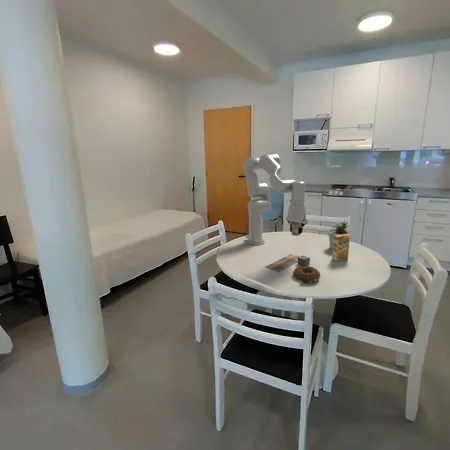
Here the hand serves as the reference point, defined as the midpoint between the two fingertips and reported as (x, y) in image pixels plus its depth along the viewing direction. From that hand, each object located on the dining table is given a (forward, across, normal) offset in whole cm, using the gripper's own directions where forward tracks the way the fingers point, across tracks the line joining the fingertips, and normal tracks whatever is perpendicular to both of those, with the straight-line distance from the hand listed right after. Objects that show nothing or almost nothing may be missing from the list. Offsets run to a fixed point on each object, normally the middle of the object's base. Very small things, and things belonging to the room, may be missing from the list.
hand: (296, 232), depth 176 cm
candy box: (+18, +20, +19) cm, 33 cm away
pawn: (+1, 0, 0) cm, 1 cm away
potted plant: (+18, +11, +36) cm, 41 cm away
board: (+17, 0, -10) cm, 20 cm away
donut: (+18, +19, -19) cm, 32 cm away
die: (+17, +9, -5) cm, 20 cm away
